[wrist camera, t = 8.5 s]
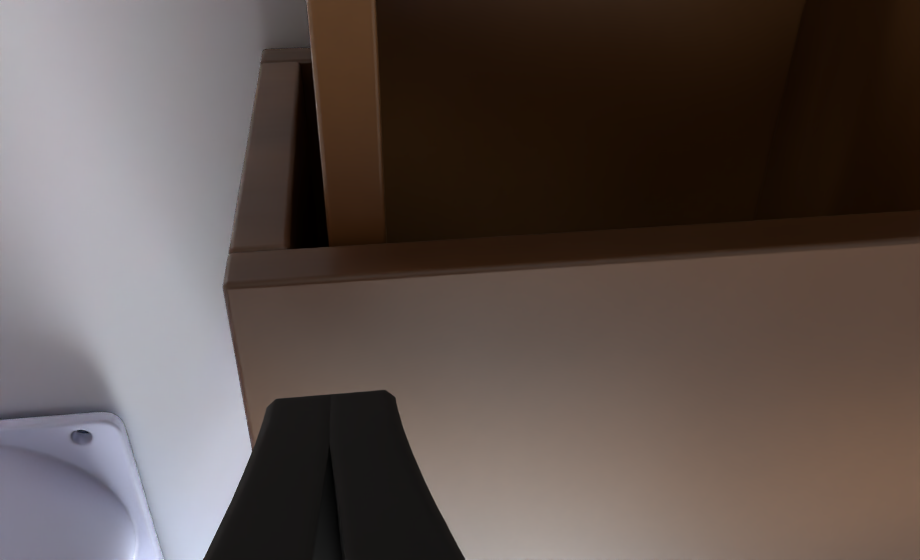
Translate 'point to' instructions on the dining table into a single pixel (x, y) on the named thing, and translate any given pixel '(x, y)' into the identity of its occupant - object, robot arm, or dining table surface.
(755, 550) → the cabinet
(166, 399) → the dining table surface
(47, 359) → the dining table surface
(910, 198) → the drawer
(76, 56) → the dining table surface
